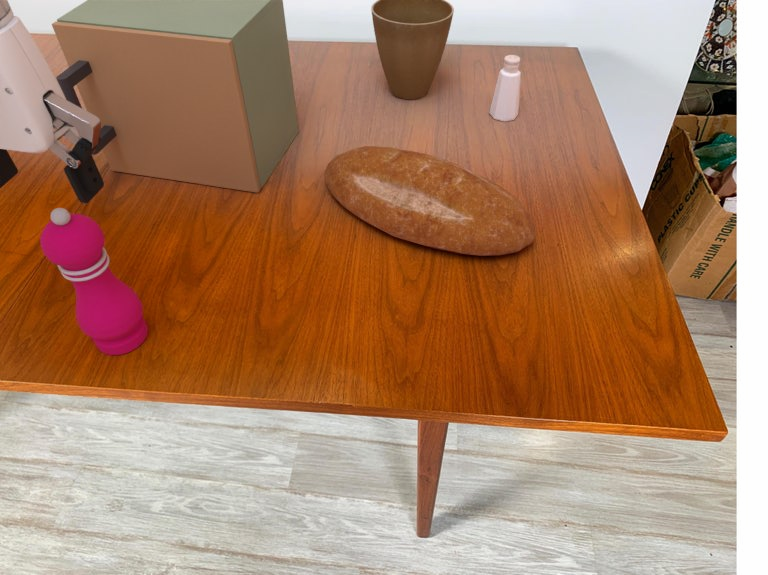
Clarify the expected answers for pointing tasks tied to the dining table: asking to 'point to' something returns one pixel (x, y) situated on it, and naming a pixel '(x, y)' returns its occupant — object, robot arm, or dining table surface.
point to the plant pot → (411, 42)
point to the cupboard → (251, 48)
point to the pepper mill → (94, 283)
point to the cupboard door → (162, 103)
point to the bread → (429, 201)
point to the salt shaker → (507, 91)
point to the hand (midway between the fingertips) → (48, 187)
